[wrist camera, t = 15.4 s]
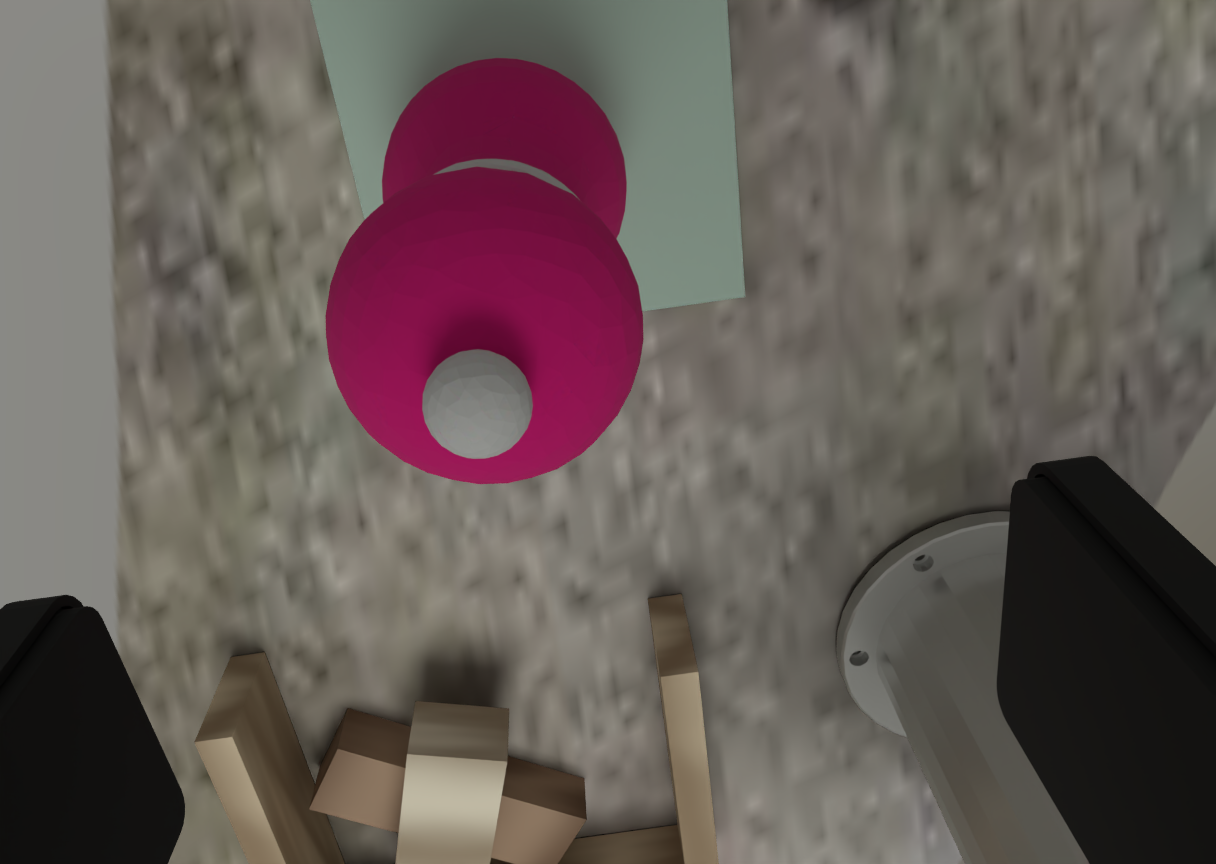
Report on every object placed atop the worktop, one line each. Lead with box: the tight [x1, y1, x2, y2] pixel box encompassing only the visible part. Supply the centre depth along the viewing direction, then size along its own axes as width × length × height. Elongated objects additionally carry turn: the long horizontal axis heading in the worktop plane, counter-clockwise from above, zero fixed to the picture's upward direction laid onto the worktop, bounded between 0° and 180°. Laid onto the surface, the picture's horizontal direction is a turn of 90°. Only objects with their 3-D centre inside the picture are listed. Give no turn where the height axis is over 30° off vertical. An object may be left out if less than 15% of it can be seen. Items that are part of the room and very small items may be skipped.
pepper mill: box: [326, 58, 643, 484], centre depth 24 cm, size 7×7×20 cm
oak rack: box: [195, 594, 719, 864], centre depth 43 cm, size 20×16×6 cm
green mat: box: [310, 0, 745, 311], centre depth 32 cm, size 13×13×1 cm
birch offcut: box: [395, 701, 509, 864], centre depth 42 cm, size 12×4×3 cm, turn 170°
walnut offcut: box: [309, 708, 587, 864], centre depth 45 cm, size 12×4×3 cm, turn 64°
